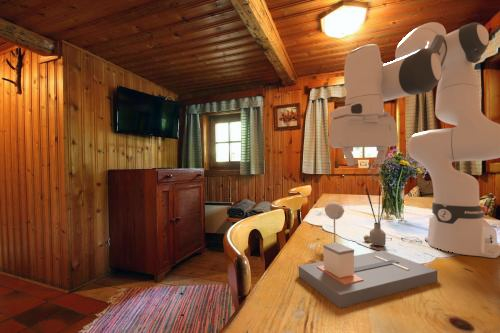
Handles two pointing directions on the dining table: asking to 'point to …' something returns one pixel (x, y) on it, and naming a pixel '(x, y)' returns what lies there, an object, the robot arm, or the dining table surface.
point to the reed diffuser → (376, 227)
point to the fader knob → (339, 259)
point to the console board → (368, 278)
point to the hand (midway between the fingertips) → (366, 164)
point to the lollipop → (334, 212)
